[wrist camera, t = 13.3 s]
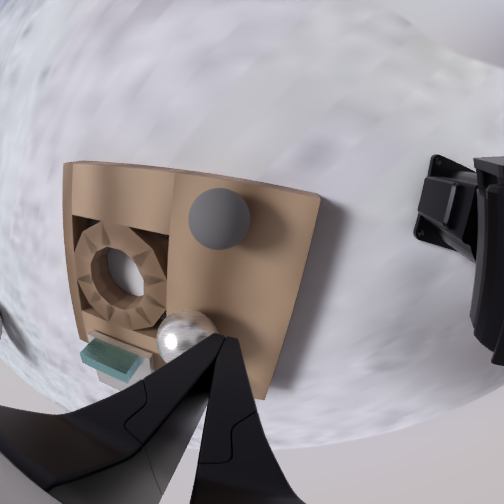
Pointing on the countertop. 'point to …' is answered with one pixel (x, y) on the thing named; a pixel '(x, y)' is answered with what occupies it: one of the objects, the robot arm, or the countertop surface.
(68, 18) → the countertop surface
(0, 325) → the donut
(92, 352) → the cover
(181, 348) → the ball
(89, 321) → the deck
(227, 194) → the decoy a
